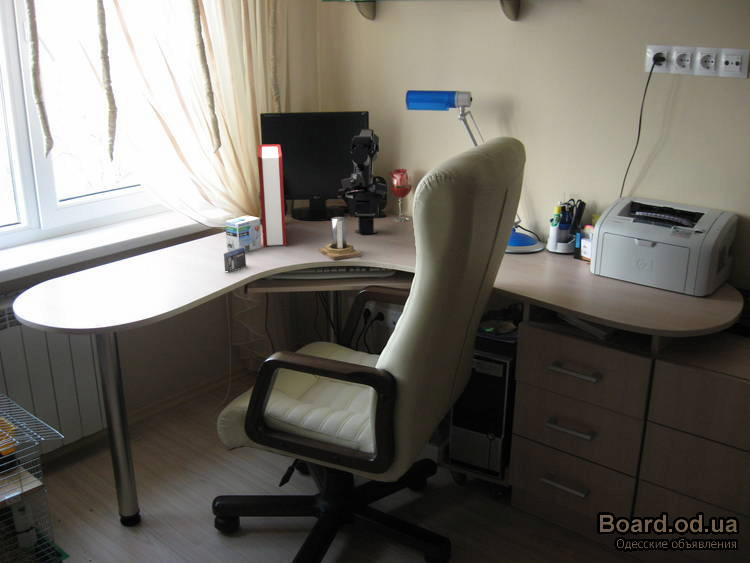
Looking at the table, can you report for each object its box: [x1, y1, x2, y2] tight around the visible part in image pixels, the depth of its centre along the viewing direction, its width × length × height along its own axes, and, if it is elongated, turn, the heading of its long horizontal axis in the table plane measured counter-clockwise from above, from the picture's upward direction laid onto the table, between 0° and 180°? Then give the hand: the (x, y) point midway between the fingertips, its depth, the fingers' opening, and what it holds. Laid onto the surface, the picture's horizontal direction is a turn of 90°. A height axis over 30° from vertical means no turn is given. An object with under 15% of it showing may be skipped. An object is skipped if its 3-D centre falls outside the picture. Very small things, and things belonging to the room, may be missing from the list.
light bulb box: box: [224, 215, 262, 253], centre depth 255 cm, size 11×7×11 cm, turn 143°
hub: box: [318, 242, 362, 261], centre depth 250 cm, size 12×10×3 cm
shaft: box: [330, 216, 348, 249], centre depth 249 cm, size 5×5×11 cm
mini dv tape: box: [223, 248, 247, 273], centre depth 235 cm, size 8×2×6 cm, turn 149°
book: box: [257, 143, 287, 248], centre depth 267 cm, size 27×8×32 cm, turn 8°
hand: (361, 215), depth 256 cm, fingers open, 9 cm apart
